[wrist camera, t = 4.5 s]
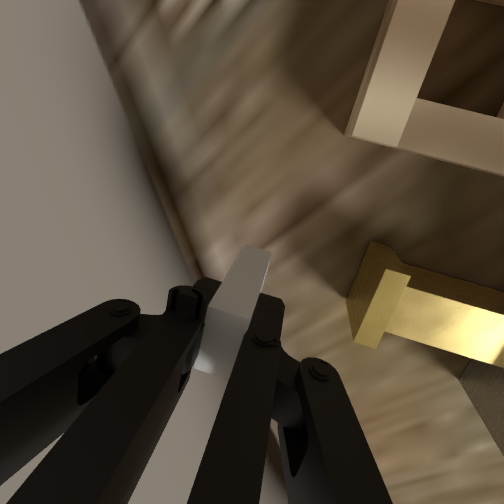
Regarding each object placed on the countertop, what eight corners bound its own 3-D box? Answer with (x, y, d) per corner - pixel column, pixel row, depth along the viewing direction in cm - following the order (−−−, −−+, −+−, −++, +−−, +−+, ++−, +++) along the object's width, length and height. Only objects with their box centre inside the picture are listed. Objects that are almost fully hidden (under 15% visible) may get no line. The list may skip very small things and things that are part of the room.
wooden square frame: (412, -72, 14) (446, -142, 11) (621, -29, 14) (736, -90, 10) (343, 135, 18) (352, 135, 14) (508, 177, 17) (562, 190, 13)
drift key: (370, 240, 19) (386, 268, 15) (549, 291, 18) (616, 335, 14) (345, 301, 21) (353, 341, 17) (508, 350, 20) (558, 405, 16)
